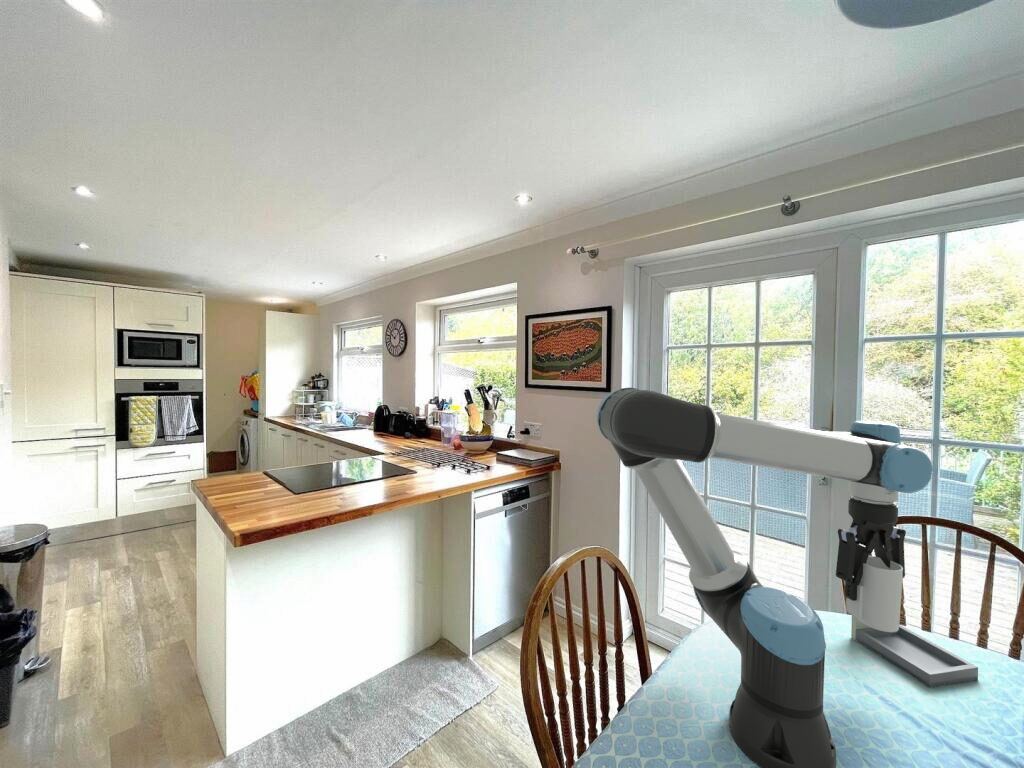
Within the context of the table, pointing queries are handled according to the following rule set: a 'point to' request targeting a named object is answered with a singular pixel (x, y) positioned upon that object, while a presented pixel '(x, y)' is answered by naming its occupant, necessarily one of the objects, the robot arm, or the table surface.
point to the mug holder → (915, 655)
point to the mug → (881, 594)
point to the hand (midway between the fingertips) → (869, 613)
